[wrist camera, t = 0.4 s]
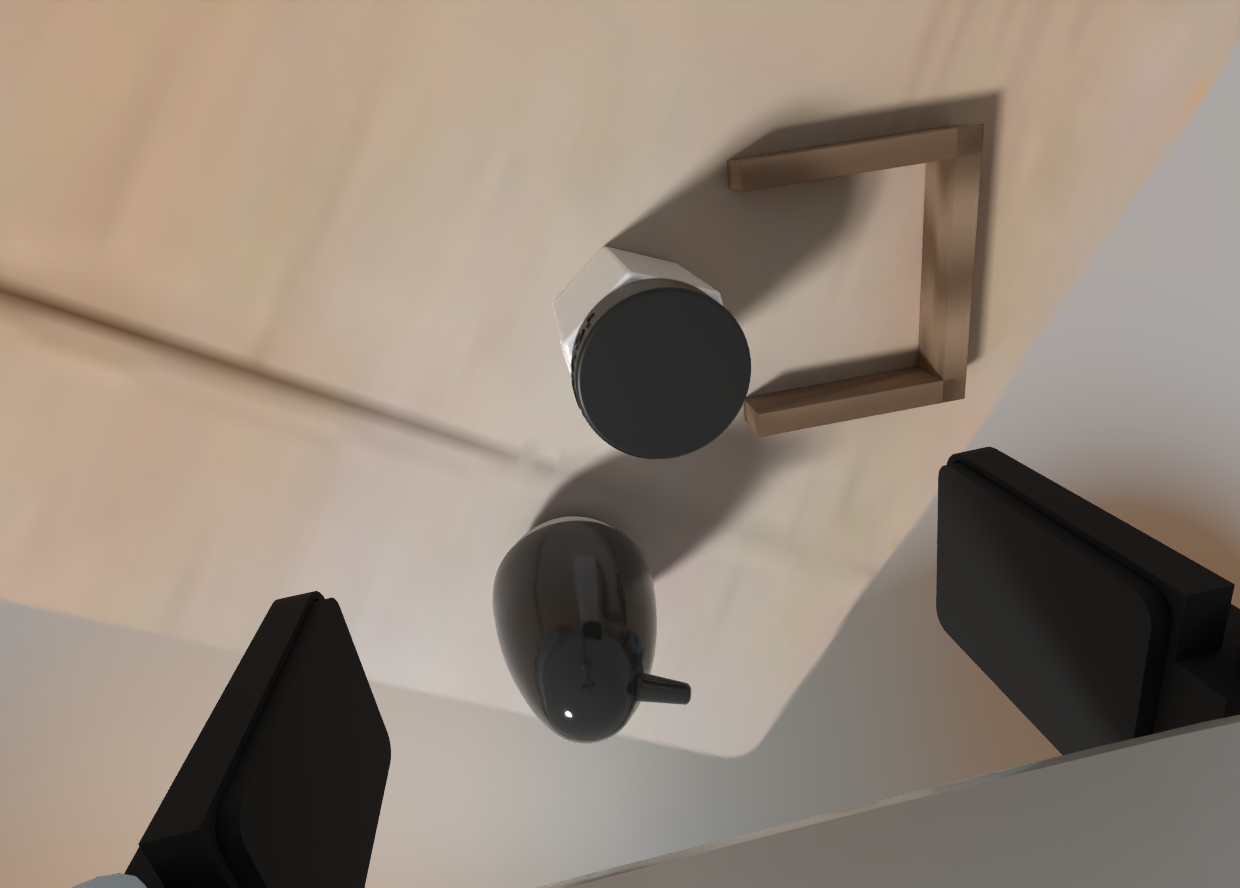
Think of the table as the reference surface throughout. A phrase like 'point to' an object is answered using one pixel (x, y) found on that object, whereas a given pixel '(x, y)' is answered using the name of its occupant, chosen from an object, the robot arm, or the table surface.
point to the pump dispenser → (580, 628)
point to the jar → (651, 354)
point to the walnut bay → (942, 278)
